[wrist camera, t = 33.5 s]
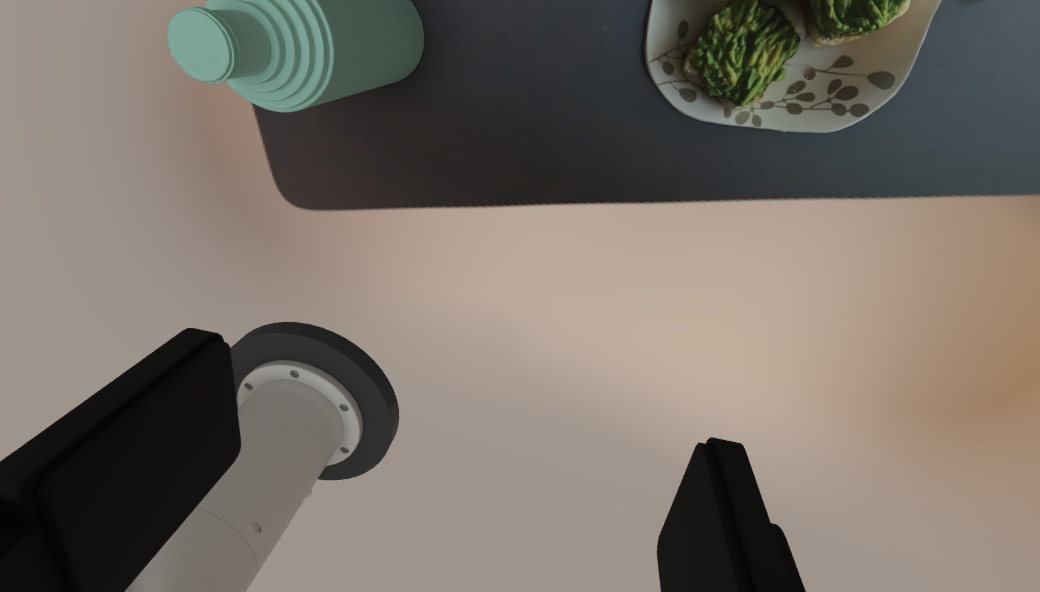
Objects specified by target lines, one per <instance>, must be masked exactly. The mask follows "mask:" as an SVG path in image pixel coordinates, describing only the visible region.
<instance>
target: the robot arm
mask: <svg viewBox="0 0 1040 592" xmlns="http://www.w3.org/2000/svg"><path fill="white" fill-rule="evenodd" d="M237 403H238V410H237ZM362 433H363V420H362V416H361V412H360V409H359V407H358V405H357V403H356V401H355V400H354V398H353V397H352V395H351V394H350V393H349V391H348V390H347V389H346V388H345V387H344V386H343V385H342V384H341V383H340V382H338V381H337V380H336V379H335V378H333V377H332V376H331V375H329V374H327V373H326V372H324V371H322V370H321V369H318V368H316V367H314V366H311V365H309V364H305V363H301V362H297V361H290V360H278V361H271V362H267V363H264V364H262V365H260V366H258V367H256V368H255V369H254V370H253V371H252V372H250V373H249V374H248V375H247V376H246V377H245V379H244V380H243V381H242V382H241V385H240V387H239V390H238V396H237V401H236V392H235V384H234V375H233V367H232V358H231V350H230V346H229V345H228V343H225V342H224V340H223V337H222V336H221V335H220V334H218V333H214V332H209V331H204V330H200V329H195V328H187V329H185V330H183V331H181V332H180V333H179V334H177V335H176V336H175V337H173V338H172V339H170V340H169V341H168V342H166V343H165V344H163V345H162V346H161V347H159V348H158V349H156V350H155V351H154V352H152V353H151V354H149V355H148V356H147V357H145V358H144V359H142V360H141V361H140V362H139V363H137V364H136V365H134V366H133V367H132V368H130V369H129V370H127V371H126V372H124V373H123V374H122V375H120V376H119V377H117V378H116V379H115V380H113V381H112V382H110V383H109V384H108V385H106V386H105V387H103V388H102V389H101V390H99V391H98V392H97V393H95V394H94V395H92V396H91V397H90V398H88V399H87V400H85V401H84V402H83V403H81V404H80V405H79V406H77V407H76V408H74V409H73V410H71V411H70V412H69V413H67V414H66V415H64V416H63V417H62V418H60V419H59V420H58V421H56V422H55V423H53V424H52V425H51V426H49V427H48V428H46V429H45V430H44V431H42V432H41V433H39V434H38V435H37V436H35V437H34V438H32V439H31V440H30V441H28V442H27V443H26V444H24V445H23V446H21V447H20V448H19V449H18V450H16V451H15V452H13V453H12V454H10V455H9V456H7V457H6V458H5V459H3V460H2V461H0V592H246V590H247V589H248V587H249V586H250V584H251V582H252V581H253V579H254V578H255V576H256V575H257V573H258V571H259V570H260V568H261V567H262V565H263V564H264V562H265V561H266V559H267V557H268V556H269V554H270V553H271V551H272V550H273V548H274V546H275V545H276V543H277V542H278V540H279V539H280V537H281V535H282V534H283V532H284V531H285V529H286V528H287V526H288V525H289V523H290V521H291V520H292V518H293V517H294V515H295V513H296V512H297V510H298V508H299V507H300V506H301V504H302V503H303V501H304V499H305V498H306V497H308V496H310V495H311V493H312V487H313V485H314V484H315V482H316V480H317V479H318V477H319V476H320V474H321V473H322V471H323V470H324V468H325V466H328V465H333V464H336V463H339V462H341V461H343V460H345V459H346V458H347V457H349V456H350V455H351V454H352V452H353V451H354V450H355V449H356V447H357V445H358V443H359V441H360V440H361V436H362ZM657 560H658V569H659V578H660V587H661V592H806V591H805V588H804V586H803V583H802V580H801V578H800V575H799V572H798V569H797V567H796V564H795V561H794V558H793V556H792V553H791V551H790V548H789V545H788V542H787V539H786V537H785V535H784V533H783V531H782V529H781V528H780V527H779V526H778V525H776V524H772V523H770V520H769V517H768V514H767V511H766V508H765V505H764V502H763V500H762V497H761V494H760V491H759V488H758V485H757V482H756V479H755V476H754V474H753V471H752V468H751V465H750V462H749V459H748V456H747V453H746V451H745V448H744V446H743V445H742V444H741V443H736V442H732V441H727V440H722V439H718V438H713V437H712V438H709V439H708V440H707V442H706V444H704V443H698V444H697V445H696V447H695V449H694V452H693V454H692V457H691V459H690V462H689V464H688V466H687V469H686V471H685V474H684V476H683V479H682V481H681V484H680V486H679V489H678V491H677V494H676V496H675V498H674V501H673V503H672V506H671V509H670V511H669V513H668V516H667V518H666V521H665V523H664V526H663V528H662V530H661V533H660V535H659V539H658V545H657Z"/></svg>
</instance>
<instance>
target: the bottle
mask: <svg viewBox="0 0 1040 592" xmlns="http://www.w3.org/2000/svg"><path fill="white" fill-rule="evenodd" d="M167 42H168V46H169V50H170V52H171V55H172V57H173V58H174V60H175V62H176V63H177V64H178V66H179V67H180V68H181V69H182V70H183V71H184V72H185V73H186V74H188V75H189V76H191V77H192V78H194V79H196V80H199V81H202V82H203V83H209V84H216V83H221V82H223V81H226V83H228V85H229V86H230V87H231V88H232V89H233V90H234V91H236V92H237V93H238V94H239V95H241V96H242V97H243V98H245V99H247V100H248V101H250V102H252V103H254V104H256V105H258V106H260V107H262V108H265V109H268V110H271V111H276V112H293V111H298V110H302V109H305V108H309V107H312V106H316V105H319V104H322V103H326V102H329V101H333V100H336V99H339V98H343V97H346V96H350V95H353V94H357V93H360V92H363V91H367V90H370V89H374V88H377V87H380V86H384V85H387V84H391V83H394V82H397V81H400V80H402V79H404V78H406V77H407V76H408V75H410V74H411V73H412V72H413V71H414V69H415V68H416V67H417V65H418V63H419V61H420V59H421V56H422V53H423V49H424V30H423V25H422V21H421V18H420V16H419V13H418V11H417V9H416V8H415V6H414V5H413V3H412V2H411V1H410V0H206V4H205V7H204V8H202V7H190V8H187V9H185V10H182V11H180V12H178V13H177V14H175V15H174V16H173V17H172V19H171V20H170V23H169V25H168V29H167Z"/></svg>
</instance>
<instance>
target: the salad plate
mask: <svg viewBox="0 0 1040 592" xmlns="http://www.w3.org/2000/svg"><path fill="white" fill-rule="evenodd" d="M942 1H943V0H650V3H649V6H648V10H647V14H646V18H645V23H644V36H643V45H642V59H643V64H644V66H645V69H646V71H647V73H648V76H649V78H650V79H651V80H652V82H653V83H654V85H655V86H656V88H657V89H658V91H659V92H660V94H661V95H662V96H663V97H664V98H665V99H666V100H667V101H668V102H669V103H670V104H671V105H672V106H673V107H674V108H675V109H676V110H678V111H679V112H680V113H682V114H684V115H686V116H689V117H691V118H693V119H696V120H699V121H703V122H707V123H711V124H719V125H729V126H743V127H750V128H759V129H771V130H777V131H782V132H812V133H828V132H832V131H837V130H841V129H843V128H846V127H848V126H851V125H853V124H855V123H858V122H859V121H861V120H862V119H864V118H865V117H867V116H868V115H870V114H871V113H872V112H874V111H875V110H877V109H878V108H879V107H881V106H883V105H885V104H886V103H887V102H889V101H890V100H891V99H892V98H893V97H894V96H896V95H897V93H898V91H899V90H900V88H901V87H902V85H903V84H904V82H905V81H906V79H907V77H908V75H909V73H910V71H911V69H912V67H913V64H914V62H915V60H916V58H917V56H918V53H919V50H920V48H921V46H922V44H923V42H924V40H925V37H926V34H927V31H928V28H929V26H930V24H931V21H932V19H933V16H934V14H935V12H936V10H937V9H938V8H939V7H940V5H941V2H942Z"/></svg>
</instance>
